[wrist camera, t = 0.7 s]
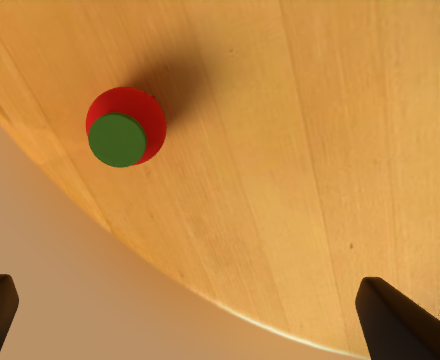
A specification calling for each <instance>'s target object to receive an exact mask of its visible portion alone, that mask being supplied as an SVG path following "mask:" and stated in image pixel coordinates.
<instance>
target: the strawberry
mask: <svg viewBox="0 0 440 360" xmlns="http://www.w3.org/2000/svg"><path fill="white" fill-rule="evenodd" d="M86 132H87V136H88V140H89V145H90V148H91V150H92V152H93V153H94V155H95V156H96V157H97V158H98V159H99V160H101V161H102V162H103V163H105V164H107V165H110V166H113V167H128V166H131V165H138V164H141V163H143V162H146V161H148V160H149V159H151V158H152V157H153V156H154V155H156V153H157V152H158V151H159V150H160V148H161V147H162V145H163V143H164V140H165V137H166V120H165V116H164V113H163V111H162V109H161V107H160V106H159V104H158V103H157V102H156V101H155V97H154V96H150V95H148V94H147V93H145V92H143V91H141V90H138V89H135V88H130V87H118V88H114V89H111V90H108V91H106V92H104V93H103V94H101V95H100V96H99V97H98V98H97V99H96V100H95V101H94V102H93V103H92V105H91V107H90V108H89V111H88V114H87V118H86Z"/></svg>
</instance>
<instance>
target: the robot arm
mask: <svg viewBox="0 0 440 360" xmlns="http://www.w3.org/2000/svg"><path fill="white" fill-rule="evenodd" d="M18 304H19V298H18V294H17V291H16V288H15V285H14V283H13V279H12V277H11V276H10V275H7V274H0V351H1V348H2V346H3V343H4V341H5V338H6V336H7V333H8V331H9V328H10V326H11V323H12V321H13V318H14V315H15V313H16V311H17V308H18ZM355 305H356V310H357V313H358V317H359V320H360V323H361V327H362V330H363V333H364V337H365V340H366V343H367V347H368V350H369V354H370V357H371V360H440V321H439V320H438V319H437V318H435V317H434V316H432V315H431V314H430V313H428V312H427V311H426V310H424V309H423V308H422V307H420V306H419V305H417V304H416V303H415V302H413V301H412V300H411V299H409V298H408V297H406V296H405V295H404V294H402V293H401V292H400V291H398V290H397V289H395V288H394V287H393V286H391V285H390V284H389V283H387V282H386V281H384V280H383V279H382V278H379V277H364V278H363V279H362V281H361V284H360V287H359V290H358V293H357V296H356V300H355Z"/></svg>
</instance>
